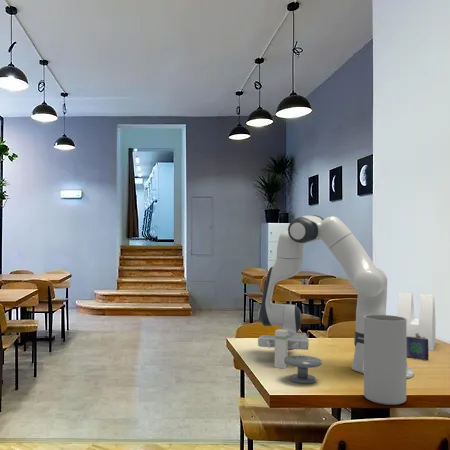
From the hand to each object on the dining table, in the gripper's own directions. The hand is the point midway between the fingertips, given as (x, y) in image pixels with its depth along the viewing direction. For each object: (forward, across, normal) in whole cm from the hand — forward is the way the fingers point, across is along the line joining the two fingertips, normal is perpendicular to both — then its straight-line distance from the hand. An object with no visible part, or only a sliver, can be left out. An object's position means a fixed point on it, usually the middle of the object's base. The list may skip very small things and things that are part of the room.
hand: (281, 346), depth 180 cm
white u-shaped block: (-61, +58, +8) cm, 85 cm away
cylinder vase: (+28, +36, +8) cm, 46 cm away
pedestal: (+15, +9, +8) cm, 20 cm away
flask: (-33, +54, +8) cm, 64 cm away
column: (-1, 0, +8) cm, 8 cm away
